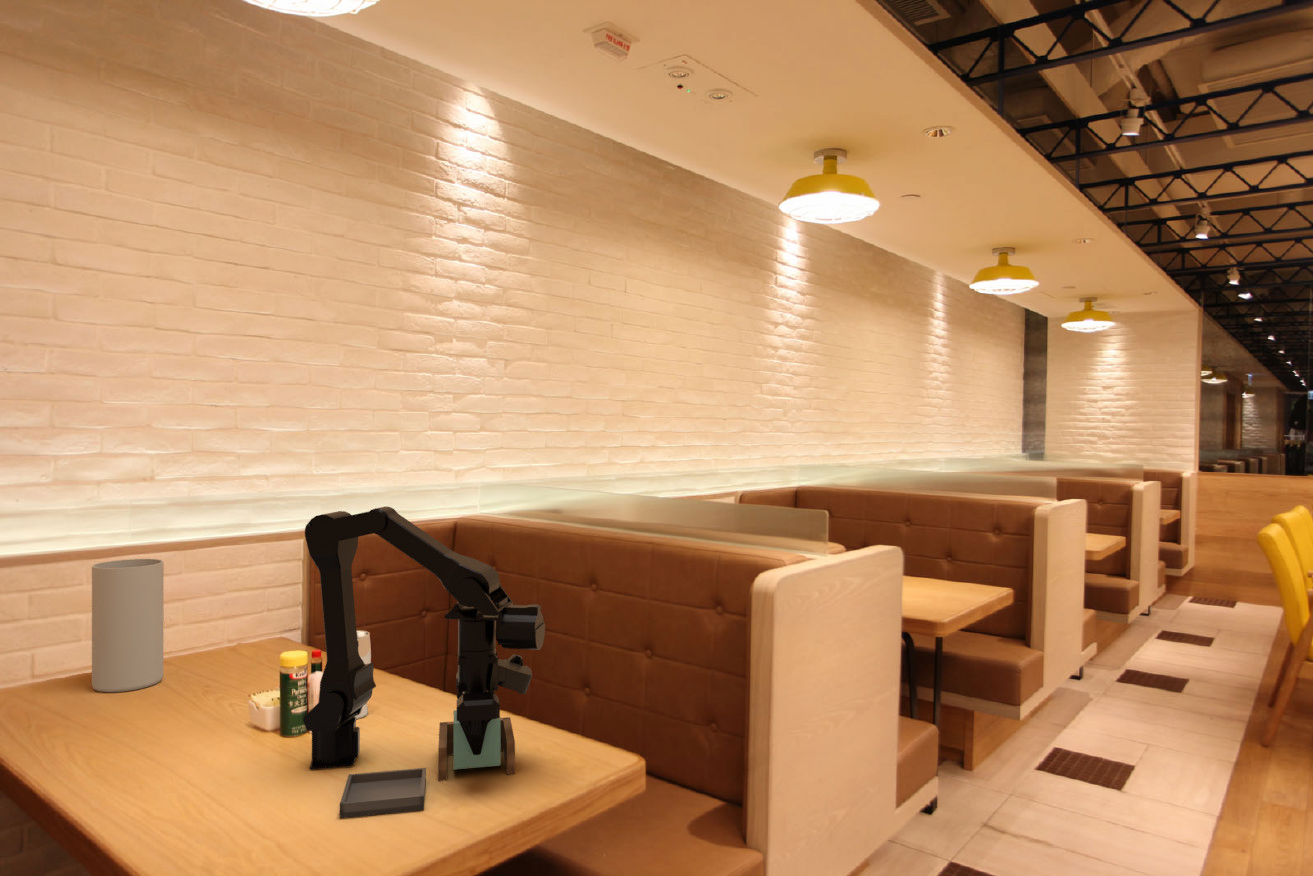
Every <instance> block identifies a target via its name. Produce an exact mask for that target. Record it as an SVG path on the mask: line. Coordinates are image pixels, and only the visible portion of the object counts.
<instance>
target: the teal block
mask: <svg viewBox="0 0 1313 876" xmlns="http://www.w3.org/2000/svg"><path fill="white" fill-rule="evenodd" d="M500 718H501V716H500V717H499V718H497V719H492V720H491V721H490V722H489V723H488V725H487V729H486V733H485V738H484V742H483V746H482V751H481V754H480V755H473V752H472V750H471V748H470V745H469V743H468V741H467V738H466V736H465V734H464V731H463V729H462V727H461V725H460V723H459V721H457V709H456V710H453V721H454V755H453V770H461V769H462V770H463V769H475V768H477V769H478V768H486V767H499V766H501V751H500V729H501V720H500Z"/></svg>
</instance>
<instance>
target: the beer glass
mask: <svg viewBox="0 0 1313 876" xmlns="http://www.w3.org/2000/svg"><path fill="white" fill-rule="evenodd" d="M370 635H371V632H369V631H367V630H358V629H357V641H358V652H359V656H360V657H361V659H362V660H363V662H364V664H369V663H372V649H371V647H372V646H371V637H370ZM368 707H369V706H368V702H367V703H366V704H365V705H363V707H362V710H361V713H360V714H359V715H356V716H355V717H356V720H359V719H362V718H365V717H366V716H367V715H368V714H369V708H368Z"/></svg>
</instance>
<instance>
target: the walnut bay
mask: <svg viewBox="0 0 1313 876" xmlns="http://www.w3.org/2000/svg"><path fill="white" fill-rule="evenodd" d="M500 720H501V729H500V750H501V751H502V752H504V753H503V758H504V765H506V766H505V771H506V775H507V774H509V775H515V774H516V765H515V763H516V762H515V761H516V756H515V755H516V740H515V735H514V729H513V725H512V720H511V717H510V716H507V717H500ZM438 730H439V731H438V748H437V749H438V750H437V751H438V752H437V753H438V755H437V756H438V757H437V758H438V759H437V761H438V763H437V766H438V768H437V769H438V771H437V773H438V776H437V777H438V782H443V781H448V780H447V779H448V778H447V777H448V776H447V774H448V773H447V771H448V769H447V768H448V756H450V755H449V754H454V720H453V721H443V722H441V721H440V722H439V727H438Z"/></svg>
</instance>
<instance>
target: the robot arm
mask: <svg viewBox="0 0 1313 876" xmlns="http://www.w3.org/2000/svg"><path fill="white" fill-rule="evenodd" d="M368 535H377V536H378V537H379V538H382V539H383V540H384V541H386V542H387V543H389V544H390V545H391V546H394V548H396V549H397V550H398V551H400V552H401V553H403V554H405V555H406V556H408V557H409V558H411V560H413V561H415V562H417V563H418V564H419V565H421V566H422V567H423V568H425V569H427V570H428V571H429V572H430V573H432V574H433V575H434V576H435V577H437V578H438V580H439V581H440V582H441V584H442V586H443V587H444V589H445V591H446V592H448V593H449V595H451V596H452V597H453V598H454V600H456V603H454V605H453V607H452V608H451V609H450V610H449V611H448V612H447V613H445V615H444V619H445V620H458V621H457V627H458V628H457V631H458V632H457V672H456V673H455V674H456V675H455V677H456V680H455V683H456V685H455V689H456V690H457V691H456V699H457V700H456V710H457V721H459V723H460V725H461V727H462V729H463V731H464V734H465V736H466V738H467V741H468V743H469V745H470V748H471V750H472V752H473V755H480V754H481V751H482V746H483V742H484V738H485V733H486V729H487V725H488V723H489V722H490V721H491V720H492V719H497V718H499V717H500V718H501V713H500V712H501V704H500V703H501V702H500V698H499V697H498V696H497V695H496V691H499V687H501V688H504V689H508V690H512V691H514V692H516V693H518V694H521V695H526V694H527V691H528V688H529V687H530V684H531V683H530V682H531V681H532V678H533V672H532V669H531V668H530V667H529V666H528V665H524V660H523V657H522V655H519V654H516V653H513V654H512V655H511V656H510V657H508V659H506V658H504V659H501V658H499V656H498V651H497V650H496V641H497V645H498V646H501V647H502V648H503V649H507V650H531V651H532V650H535V651H537V650H538V651H541V649H542V647H543V645H544V642H545V641H544V640H545V634H546V622H544V616H543V613H542V611H541V609H542V606H541V605H540V604H527V605H523V604H522V605H521V604H514V601H513V599H511V597H510V596H509V594H508V593H507V591H506V590H505V589H504V588H503V586H502V585H501V580H500V576H499V575H500V574H499V572H498V571H497V570H496V569H495V568H494V567H493V566H491V565H490V564H486V563H485V562H484V561H483V562H482V561H480V560H478V559H476V558H473V557H470V556H466V555H463V554H460V553H458V552H455V551H453V550H452V549H450V548H449V547H448V546H446V545H445V544H443V543H441V542H440V541H439V540H437V539H436V538H434V536H431V535H430V534H429V533H427V531H424V530H423V529H422V528H419V527H418V526H417V525H416V524H414V523H412V522H411V521H409V520H408V519H406V517H404V516H402V515H401V514H400V513H398V512H397V510H396V509H395V508H393V507H390V506H381V507H375V508H372V509H370V510H369V511H365V512H361V513H360V512H359V513H356V514H351V513H349V512H347V511H346V510H345V511H344V510H343V511H342V510H340V511H333V512H328V513H323V514H319V515H315V516H313V517H311V519H310V520H309V521H308V522H307V524H305V527H304V538H305V543H306V546H307V551H308V554H309V557H310V558H311V560H312V561H313V563H314V565H315V566H316V568H317V569H318V573H319V580H320V591H321V592H320V594H321V604H322V605H321V606H322V616H323V618H322V619H323V628H324V639H325V640H324V641H325V653H326V663H325V666H324V669H323V672H322V675H321V679H320V681H319V690H318V693H319V694H318V703H316V704H315V706H313V707H312V708H311V709H310V710H309V711H308V713H307V714H305V716H303V718H302V720H303V723H304V726H305V729H306V731H308V732H311V762H310V764H309V766H308V767H309V768H308V769H309V770H321V769H323V770H324V769H334V768H346V767H352V766H354V765H355V761H356V760H357V759H358V757H359V754H360V752H361V751H360V749H361V748H360V746H361V745H360V740H361V739H360V738H361V737H360V736H361V735H360V732H361V731H360V730H361V729H360V727H359V726H357V719H356V717H355V716H356V715H359V714H360V713H361V710H362V707H363V705H365V704H366V703H367V704H368V702H369V701H370V699H372V696H373V689H375V688H376V687H377V685H376V682H375V680H374V663H373V662H371V663H369V664H364V662H363V660H362V659H361V657H360V656H359V652H358V641H357V630H358V629H357V619H356V608H355V595H354V585H353V584H354V582H353V571H352V566H353V562H354V559H355V557H356V553H357V551H358V550H357V549H358V544H359V537H363V536H364V537H365V536H368Z"/></svg>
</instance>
